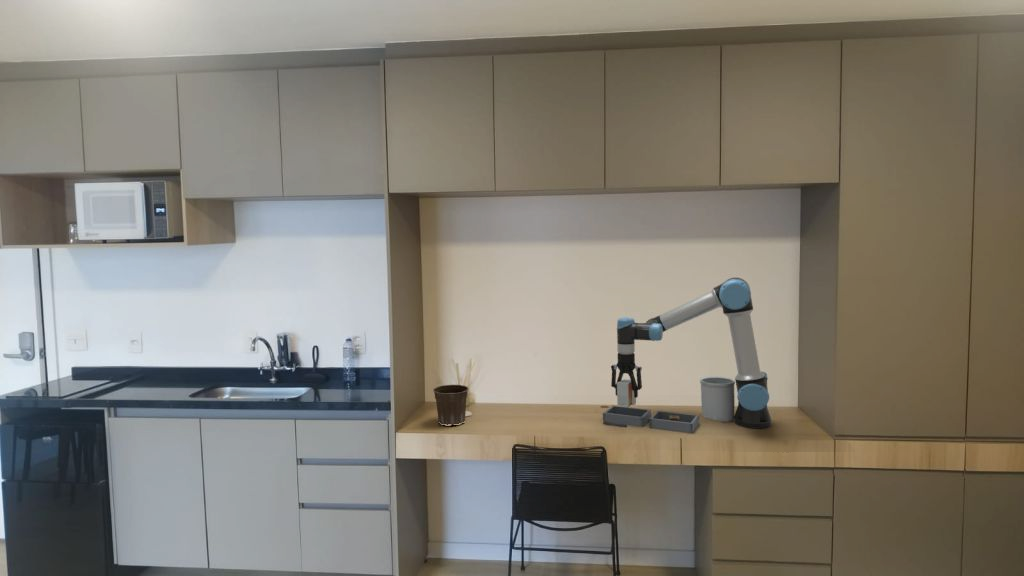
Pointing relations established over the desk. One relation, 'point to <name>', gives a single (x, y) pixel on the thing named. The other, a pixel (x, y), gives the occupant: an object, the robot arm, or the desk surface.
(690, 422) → the bin
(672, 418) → the walnut block
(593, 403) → the desk surface
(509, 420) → the desk surface
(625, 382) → the small box
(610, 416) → the bin
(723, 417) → the utensil holder
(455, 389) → the plant pot
